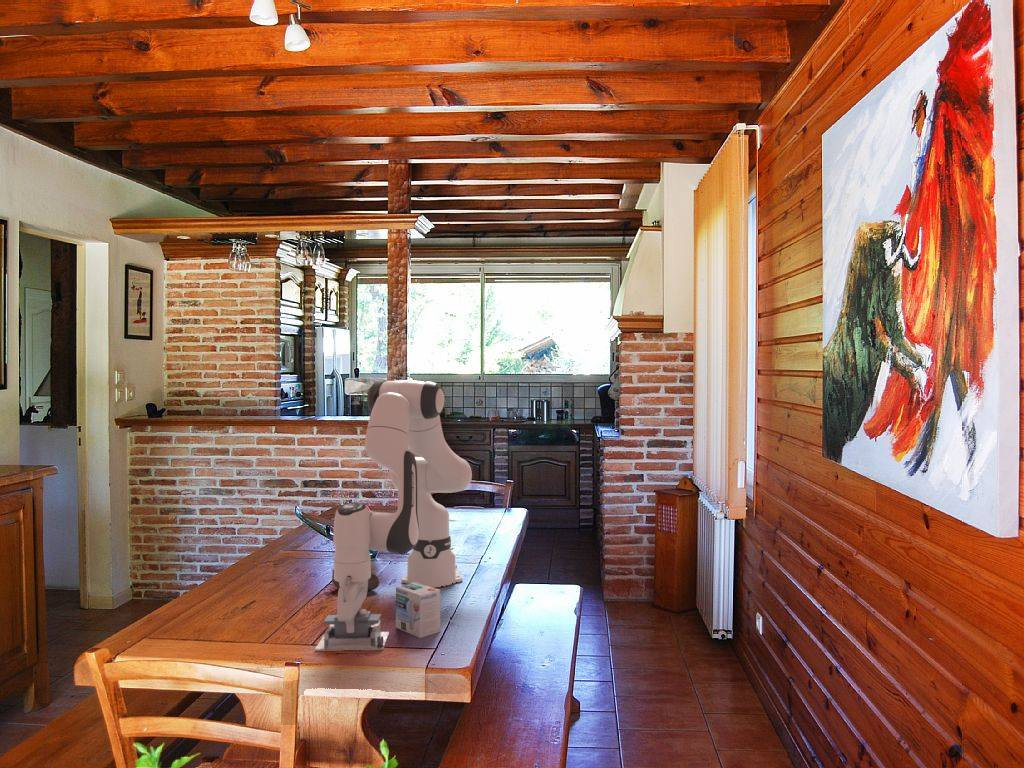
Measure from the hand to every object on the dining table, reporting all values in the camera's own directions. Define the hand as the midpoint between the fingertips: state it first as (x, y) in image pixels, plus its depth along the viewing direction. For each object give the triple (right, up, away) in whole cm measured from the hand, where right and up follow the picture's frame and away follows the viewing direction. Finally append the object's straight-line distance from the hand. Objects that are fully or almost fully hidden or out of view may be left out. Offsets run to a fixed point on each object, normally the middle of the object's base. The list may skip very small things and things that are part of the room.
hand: (353, 627), depth 185 cm
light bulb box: (+15, -4, +8) cm, 17 cm away
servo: (0, -2, 0) cm, 2 cm away
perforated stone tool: (-8, -3, +44) cm, 45 cm away
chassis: (0, -4, 0) cm, 4 cm away
